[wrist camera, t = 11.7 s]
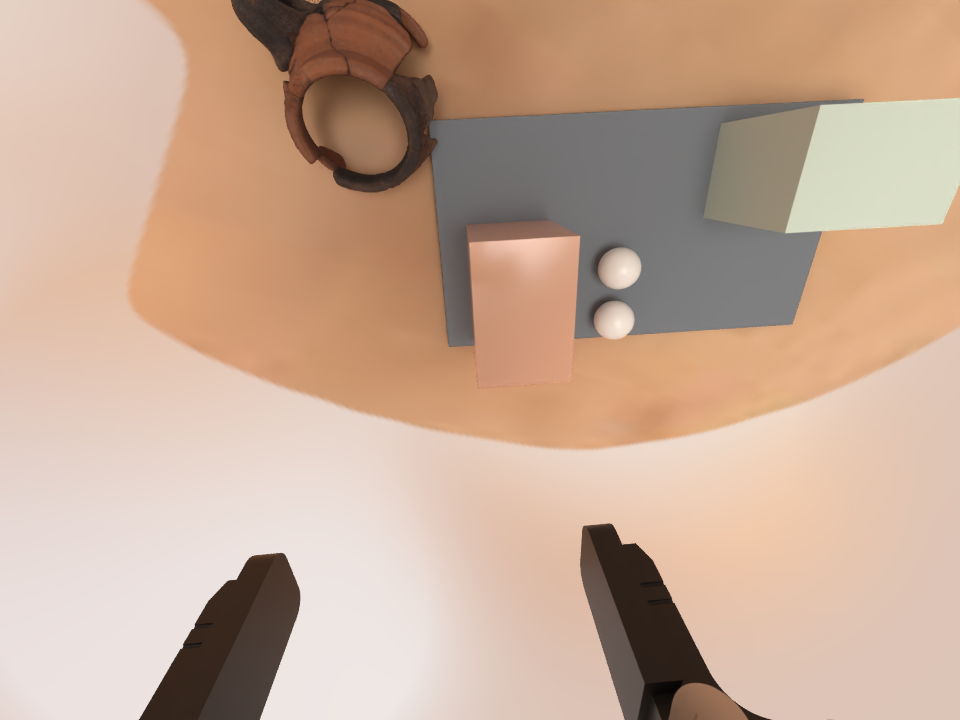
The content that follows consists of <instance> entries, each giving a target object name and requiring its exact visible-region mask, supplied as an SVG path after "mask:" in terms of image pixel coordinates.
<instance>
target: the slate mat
mask: <svg viewBox="0 0 960 720" xmlns="http://www.w3.org/2000/svg"><path fill="white" fill-rule="evenodd" d="M863 101H864V99H852V100H832V101H812V102H792V103H772V104H752V105H732V106H712V107H692V108H673V109H653V110H633V111H613V112H593V113H573V114H553V115H533V116H513V117H493V118H473V119H453V120H433V121H431V122H430V125H429V133H430V138H431V139H433V138H435V139H437V140H438V143H437V145H436V146H435V148H434V150H433V151H432V152H431V155H432V166H433V177H434V188H435V199H436V210H437V221H438V232H439V243H440V254H441V265H442V276H443V287H444V299H445V310H446V321H447V332H448V343H449V347H455V346H470V345H474V341H473V326H472V310H471V294H470V278H469V262H468V246H467V231H466V225H469V224H486V223H502V222H519V221H536V220H550V221H552V222H554V223H556V224H558V225H560V226H562V227H564V228H566V229H568V230H570V231H572V232H574V233H576V234H577V235H579V236H580V246H579V264H578V281H577V298H576V315H575V332H574V339H577V338H593V337H603V336H601V335H600V334H599V333H598V332H597V330H596V329H595V326H594V315H595V313H596V311H597V309H598V308H599V307H600V306H601V305H603V304H604V303H606V302H609V301H621V302H623V303H625V304H627V305H628V306H629V307H630V308H631V309H632V311H633V313H634V319H635V320H634V325H633V328H632V330H631V331H630V332H629V333H628V334H627V335H638V334H654V333H669V332H684V331H700V330H715V329H730V328H745V327H761V326H776V325H791V324H793V321H794V318H795V315H796V311H797V308H798V305H799V302H800V299H801V296H802V293H803V289H804V286H805V283H806V280H807V277H808V274H809V271H810V267H811V264H812V261H813V258H814V255H815V252H816V249H817V245H818V242H819V239H820V236H821V233H822V231H815V232H798V233H781V232H775V231H770V230H765V229H759V228H754V227H748V226H743V225H738V224H732V223H727V222H722V221H716V220H711V219H705V218H703V216H704V210H705V205H706V200H707V195H708V189H709V184H710V179H711V173H712V168H713V163H714V158H715V152H716V147H717V142H718V136H719V131H720V126H721V123H726V122H732V121H737V120H743V119H748V118H753V117H759V116H764V115H770V114H775V113H780V112H786V111H791V110H797V109H802V108H807V107H813V106H818V105H831V104H851V103H863ZM619 247H624V248H628V249H631V250H632V251H634V252H635V253H636V254H637V255H638V256H639V258H640V261H641V273H640V275H639V277H638V279H637V280H636V281H635V283H633V284H632V285H631V286H629V287H627V288H624V289H612V288H609V287H607V286H606V285H604V284H603V283H602V281H601V280H600V278H599V275H598V265H599V262H600V260H601V258H602V257H603V255H604V254H605V253H607V252H608V251H610V250H611V249H614V248H619Z"/></svg>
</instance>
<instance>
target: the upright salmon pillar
mask: <svg viewBox="0 0 960 720" xmlns="http://www.w3.org/2000/svg"><path fill="white" fill-rule="evenodd" d="M466 231H467V246H468V262H469V278H470V294H471V310H472V326H473V341H474V351H475V362H476V372H477V382H478V388H490V387H504V386H518V385H532V384H547V383H561V382H572V366H573V349H574V332H575V315H576V298H577V281H578V264H579V246H580V236H579V235H577V234H576V233H574V232H572V231H570V230H568V229H566V228H564V227H562V226H560V225H558V224H556V223H554V222H552V221H550V220H536V221H519V222H502V223H486V224H469V225H466Z"/></svg>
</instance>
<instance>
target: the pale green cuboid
mask: <svg viewBox="0 0 960 720" xmlns="http://www.w3.org/2000/svg"><path fill="white" fill-rule="evenodd" d="M959 185H960V98H950V99H931V100H911V101H891V102H871V103H851V104H831V105H818V106H813V107H807V108H802V109H797V110H791V111H786V112H780V113H775V114H770V115H764V116H759V117H753V118H748V119H743V120H737V121H732V122H726V123H721V126H720V131H719V136H718V142H717V147H716V152H715V158H714V163H713V168H712V173H711V179H710V184H709V189H708V195H707V200H706V205H705V210H704V216H703V218H705V219H711V220H716V221H722V222H727V223H732V224H738V225H743V226H748V227H754V228H759V229H765V230H770V231H775V232H781V233H798V232H815V231H832V230H849V229H866V228H883V227H900V226H917V225H934V224H942V223H943V221H944V219H945V216H946V214H947V212H948V210H949V207H950V205H951V203H952V201H953V198H954V196H955V194H956V191H957V189H958V187H959Z"/></svg>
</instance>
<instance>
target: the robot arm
mask: <svg viewBox="0 0 960 720" xmlns="http://www.w3.org/2000/svg"><path fill="white" fill-rule="evenodd" d="M580 566H581V576H582V581H583V585H584V589H585V592H586V595H587V599H588V602H589V605H590V609H591V612H592V615H593V618H594V621H595V625H596V628H597V631H598V634H599V638H600V641H601V644H602V648H603V651H604V654H605V657H606V660H607V664H608V667H609V670H610V673H611V677H612V680H613V683H614V686H615V690H616V693H617V696H618V699H619V702H620V706H621V709H622V712H623V715H624V719H625V720H770V719H766V718H764V717H761V716H758V715H756V714H753V713H751V712H750V711H748V710H746V709H745V708H743V707H741V706H740V705H738V704H737V703H736V702H734V701H733V700H732V699H731V698H730V697H729V696H728V695H727V694H726V693H725V692H724V691H723V690H722V689H721V688H720V687H719V685H718V684H717V683H716V681H715V680H714V679H713V677H712V675H711V674H710V672H709V670H708V668H707V666H706V664H705V662H704V660H703V658H702V656H701V655H700V652H699V650H698V649H697V647H696V645H695V643H694V641H693V639H692V637H691V635H690V633H689V631H688V629H687V627H686V625H685V623H684V621H683V619H682V617H681V615H680V613H679V611H678V609H677V607H676V605H675V603H673V601H672V597H671V596H670V593H669V592H668V590H667V588H666V586H665V585H664V584H663V580H662V578H661V576H660V574H659V572H658V570H657V568H656V566H655V564H654V562H653V560H652V559H651V558H650V557H649V556H648V555H647V554H646V553H645V552H644V551H643V550H642V549H641V548H639V546H638V545H637V544H636V543H635V544H624V545H622V543H621V541H620V538H619V536H618V534H617V532H616V530H615V528H614V526H613V525H612V524H600V525H589V526H583V530H582V544H581V560H580ZM299 606H300V590H299V587H298V585H297V582H296V579H295V577H294V575H293V572H292V570H291V567H290V565H289V562H288V560H287V558H286V556H285V554H283V553H276V554H266V555H255V556H252V557H251V558H249V559H248V560H247V562H246V563H245V566H244V567H243V569H242V571H241V573H240V574H239V576H238V578H237V580H229V581H227V582H226V583H225V584H224V585H223V586H222V587H221V589H220V590H219V591H218V592H217V593H216V594H215V595H214V596H213V597H212V598H211V599H210V600H209V601H208V603H207V604H206V606H205V608H204V609H203V611H202V613H201V615H200V616H199V618H198V620H197V621H196V623H195V628H194V629H192V630H191V632H190V634H189V635H188V637H187V639H186V640H185V642H184V644H183V648H182V649H180V651H179V653H178V654H177V656H176V657H175V659H174V661H173V663H172V664H171V666H170V668H169V670H168V671H167V673H166V675H165V676H164V678H163V680H162V682H161V683H160V685H159V687H158V688H157V690H156V692H155V694H154V695H153V697H152V699H151V700H150V702H149V704H148V705H147V707H146V709H145V711H144V712H143V714H142V716H141V717H140V719H139V720H260V717H261V715H262V712H263V709H264V706H265V703H266V701H267V698H268V695H269V692H270V689H271V687H272V684H273V681H274V678H275V676H276V673H277V670H278V667H279V665H280V662H281V659H282V656H283V654H284V651H285V648H286V645H287V643H288V640H289V637H290V634H291V632H292V628H293V626H294V623H295V621H296V618H297V615H298V611H299Z"/></svg>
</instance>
